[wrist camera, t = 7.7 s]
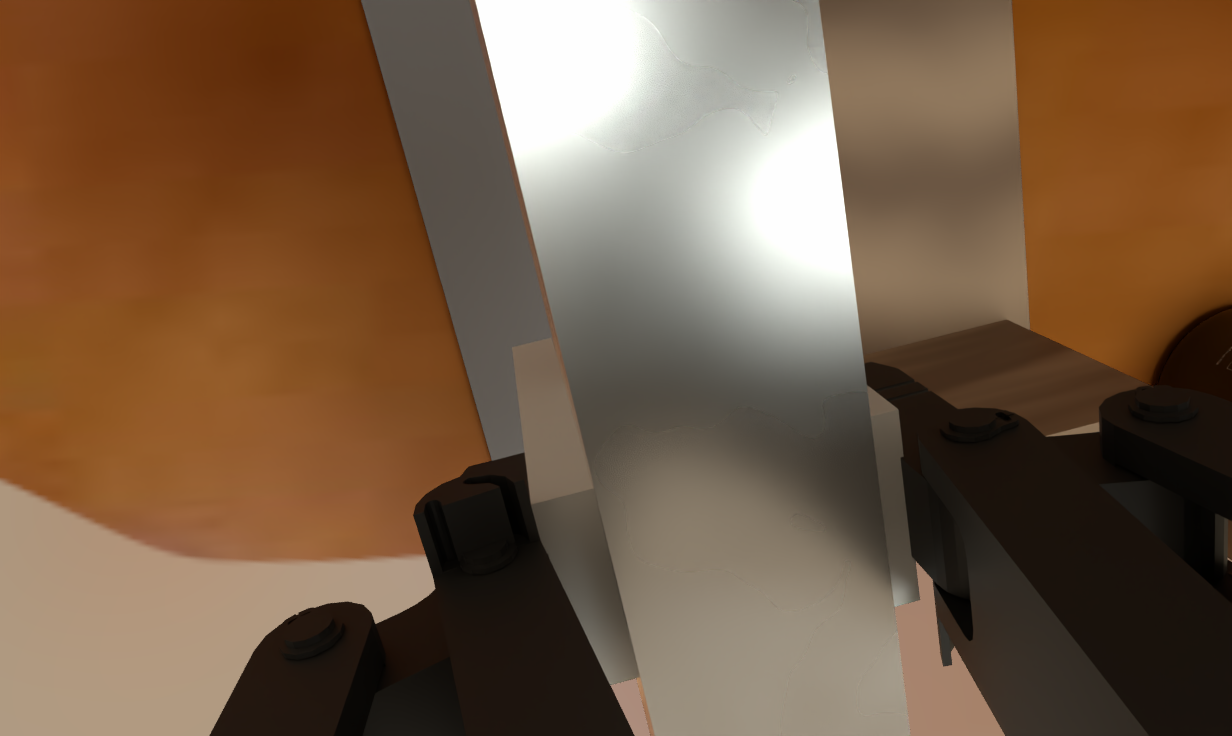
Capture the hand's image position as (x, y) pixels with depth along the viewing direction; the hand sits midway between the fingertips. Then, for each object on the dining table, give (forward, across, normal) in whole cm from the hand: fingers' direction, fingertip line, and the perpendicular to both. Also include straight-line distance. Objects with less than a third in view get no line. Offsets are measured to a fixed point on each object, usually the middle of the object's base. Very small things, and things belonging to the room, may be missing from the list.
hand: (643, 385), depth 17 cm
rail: (-2, 0, 0) cm, 2 cm away
